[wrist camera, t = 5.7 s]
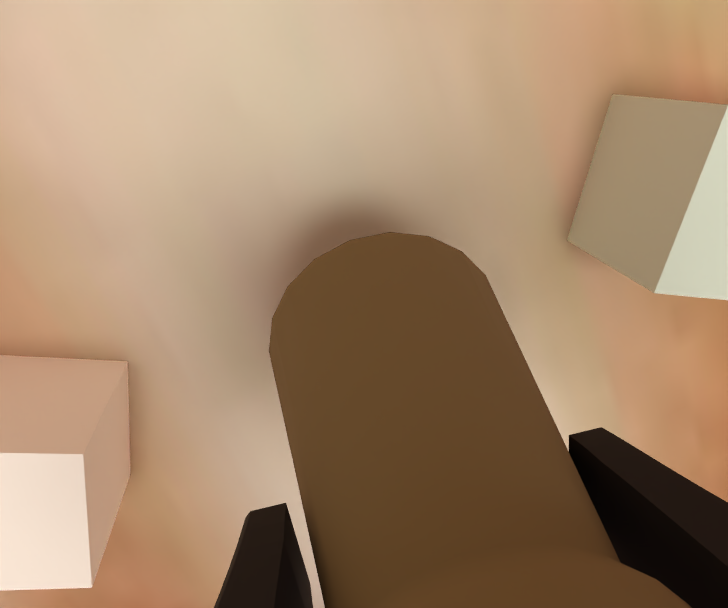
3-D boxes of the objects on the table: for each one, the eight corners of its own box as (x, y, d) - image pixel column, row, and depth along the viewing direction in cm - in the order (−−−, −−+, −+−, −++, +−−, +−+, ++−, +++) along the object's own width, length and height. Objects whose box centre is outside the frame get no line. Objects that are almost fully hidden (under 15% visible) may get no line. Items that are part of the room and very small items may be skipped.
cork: (228, 283, 13) (60, 1165, 3) (473, 196, 12) (1167, 816, 3) (317, 460, 15) (382, 1191, 6) (517, 391, 15) (924, 1023, 6)
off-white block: (130, 473, 21) (92, 587, 16) (-15, 471, 20) (-99, 593, 15) (128, 360, 19) (83, 453, 14) (-33, 351, 18) (-137, 450, 13)
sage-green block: (683, 253, 20) (799, 306, 16) (565, 239, 19) (654, 292, 15) (738, 116, 19) (887, 133, 14) (611, 93, 18) (728, 104, 13)
